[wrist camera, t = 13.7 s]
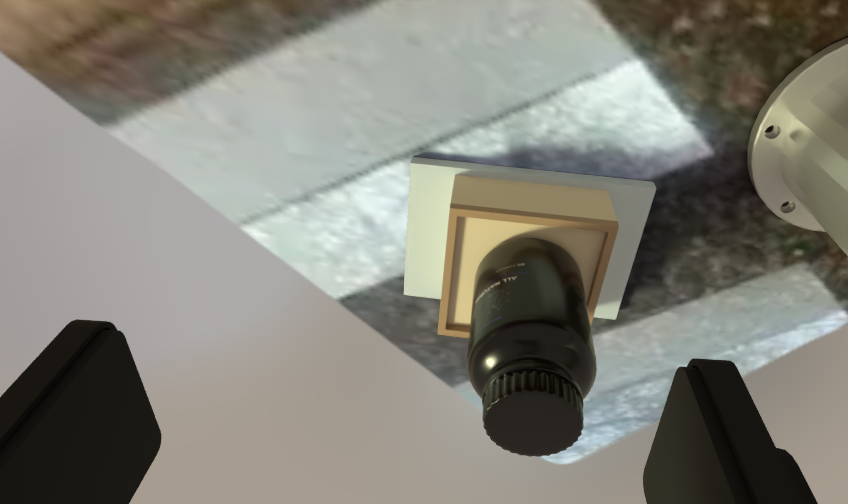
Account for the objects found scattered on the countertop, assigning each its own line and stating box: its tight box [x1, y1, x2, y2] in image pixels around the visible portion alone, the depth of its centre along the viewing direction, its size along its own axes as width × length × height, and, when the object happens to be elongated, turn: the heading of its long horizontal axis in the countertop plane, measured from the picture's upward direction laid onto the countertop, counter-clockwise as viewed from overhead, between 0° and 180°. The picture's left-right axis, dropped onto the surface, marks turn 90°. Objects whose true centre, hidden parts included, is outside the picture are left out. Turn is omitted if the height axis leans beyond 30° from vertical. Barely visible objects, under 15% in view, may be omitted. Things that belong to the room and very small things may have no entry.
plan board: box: [404, 157, 656, 338], centre depth 40 cm, size 16×11×6 cm
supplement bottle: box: [467, 238, 597, 457], centre depth 33 cm, size 7×7×12 cm
